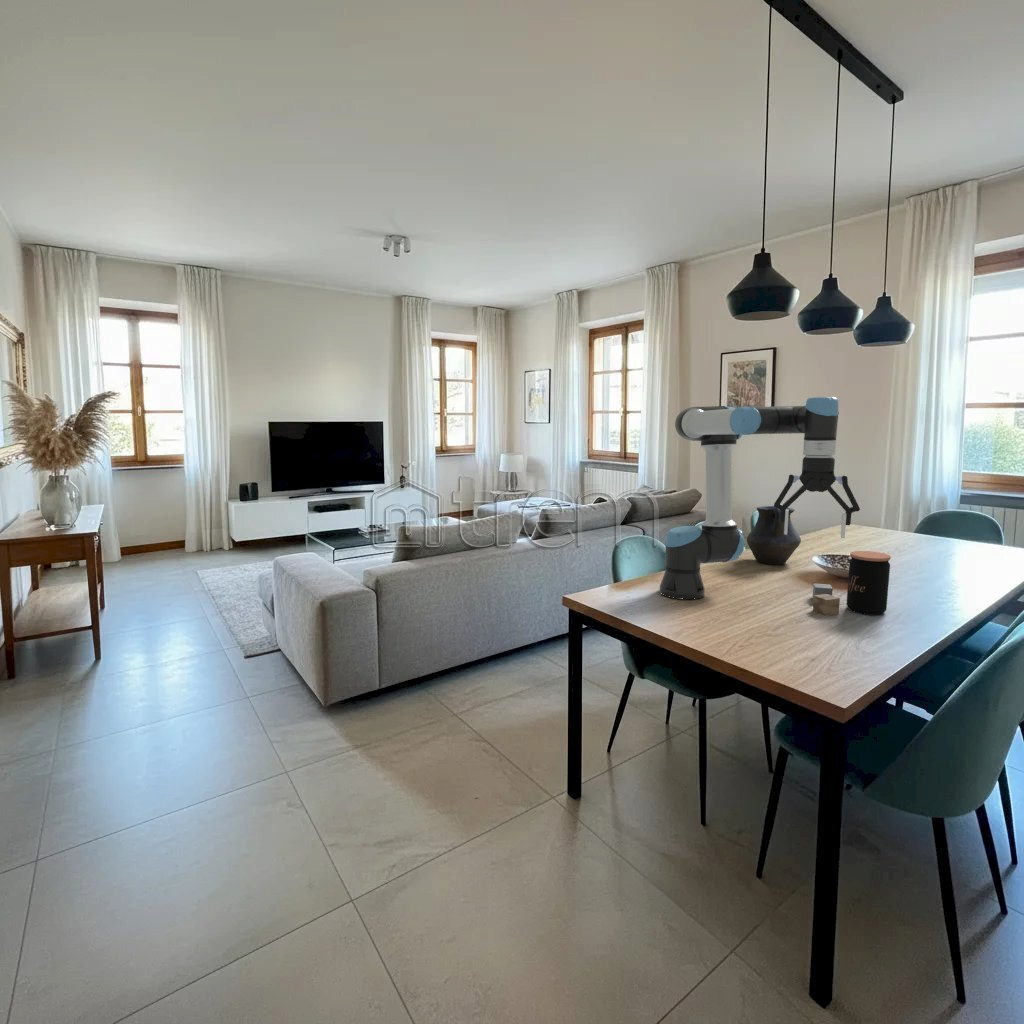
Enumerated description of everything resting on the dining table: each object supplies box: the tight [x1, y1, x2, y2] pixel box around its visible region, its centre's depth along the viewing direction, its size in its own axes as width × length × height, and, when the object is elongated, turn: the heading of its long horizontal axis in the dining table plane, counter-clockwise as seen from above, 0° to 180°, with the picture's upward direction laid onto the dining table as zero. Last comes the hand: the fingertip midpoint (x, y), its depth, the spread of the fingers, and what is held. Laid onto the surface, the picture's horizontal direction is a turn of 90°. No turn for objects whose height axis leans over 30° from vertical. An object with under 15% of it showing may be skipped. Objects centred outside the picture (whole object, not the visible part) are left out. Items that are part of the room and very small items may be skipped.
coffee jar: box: [846, 550, 892, 616], centre depth 178 cm, size 11×11×18 cm
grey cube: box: [812, 583, 833, 600], centre depth 190 cm, size 5×5×5 cm
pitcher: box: [746, 505, 802, 566], centre depth 240 cm, size 21×22×25 cm
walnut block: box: [812, 594, 841, 616], centre depth 178 cm, size 5×5×5 cm
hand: (813, 535), depth 154 cm, fingers open, 13 cm apart
